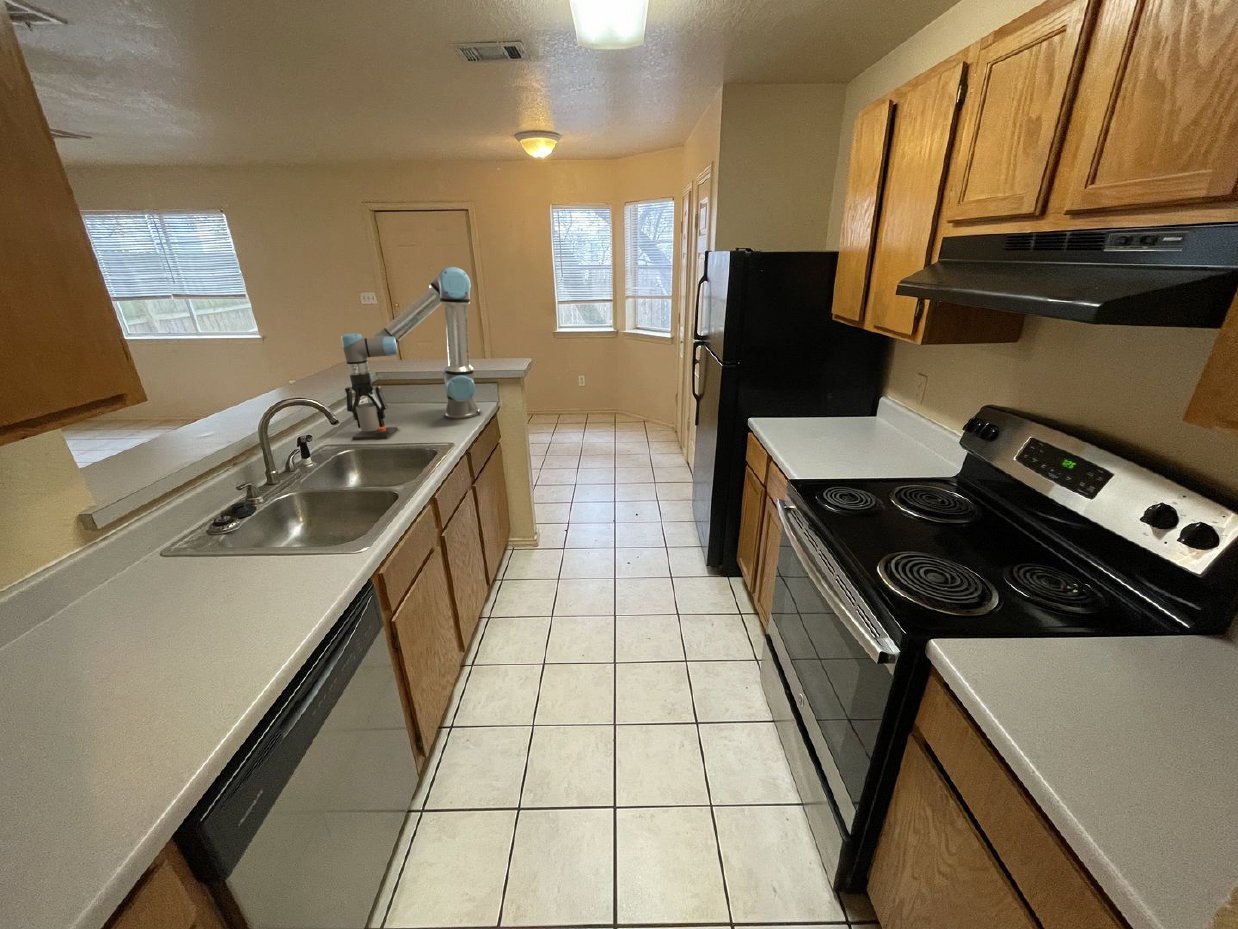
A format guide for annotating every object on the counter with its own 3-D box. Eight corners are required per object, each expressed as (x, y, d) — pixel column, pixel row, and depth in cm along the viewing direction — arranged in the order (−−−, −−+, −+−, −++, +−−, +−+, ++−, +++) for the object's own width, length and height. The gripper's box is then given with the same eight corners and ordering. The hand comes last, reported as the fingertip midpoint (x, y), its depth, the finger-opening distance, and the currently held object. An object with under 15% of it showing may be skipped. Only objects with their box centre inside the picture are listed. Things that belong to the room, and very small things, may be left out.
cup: (356, 430, 211) (351, 407, 207) (370, 424, 218) (365, 402, 214) (373, 432, 208) (368, 408, 205) (387, 425, 216) (382, 403, 212)
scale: (399, 429, 219) (397, 423, 218) (388, 439, 207) (386, 432, 206) (365, 431, 219) (364, 424, 218) (352, 440, 207) (350, 433, 206)
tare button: (387, 430, 211) (386, 426, 210) (384, 432, 208) (383, 428, 207) (380, 430, 210) (379, 426, 210) (377, 432, 208) (376, 429, 207)
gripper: (328, 376, 201) (342, 430, 209) (382, 374, 201) (393, 428, 210) (337, 372, 207) (350, 424, 216) (389, 370, 208) (400, 422, 217)
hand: (371, 426), depth 213 cm, fingers closed on cup, 8 cm apart
